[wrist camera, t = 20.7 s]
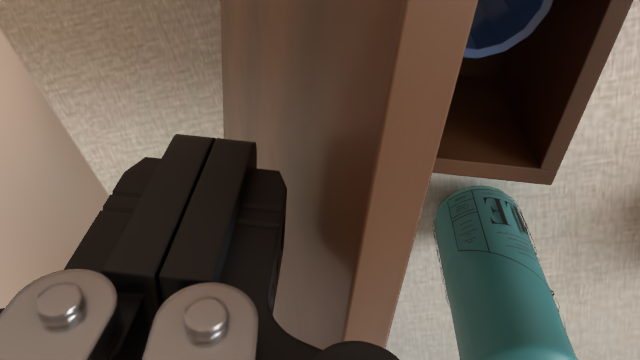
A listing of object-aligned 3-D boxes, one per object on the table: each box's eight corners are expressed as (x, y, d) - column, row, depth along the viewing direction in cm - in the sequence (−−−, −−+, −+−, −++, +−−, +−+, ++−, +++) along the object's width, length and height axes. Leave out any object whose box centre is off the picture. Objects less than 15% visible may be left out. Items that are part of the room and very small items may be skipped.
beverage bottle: (421, 231, 42) (460, 495, 26) (440, 164, 38) (498, 428, 22) (500, 239, 42) (587, 508, 26) (527, 174, 39) (648, 444, 22)
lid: (664, -682, 3) (538, -734, 3) (336, 534, 13) (304, 543, 13) (239, -311, 15) (211, -315, 15) (240, 156, 25) (224, 157, 25)
